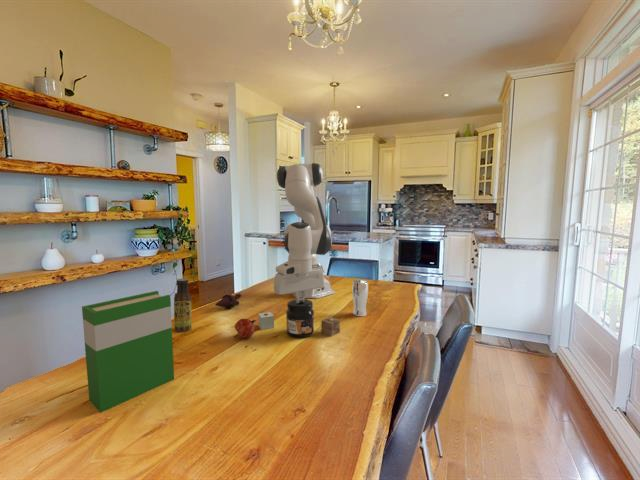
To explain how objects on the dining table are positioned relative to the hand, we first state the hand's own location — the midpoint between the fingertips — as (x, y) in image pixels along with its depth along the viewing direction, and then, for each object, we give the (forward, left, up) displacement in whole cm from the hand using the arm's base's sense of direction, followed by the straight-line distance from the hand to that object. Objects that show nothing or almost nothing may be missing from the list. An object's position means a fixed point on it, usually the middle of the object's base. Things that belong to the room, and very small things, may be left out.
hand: (299, 302), depth 118 cm
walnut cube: (-10, +6, -12) cm, 17 cm away
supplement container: (0, 0, -12) cm, 12 cm away
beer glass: (-33, -3, -12) cm, 35 cm away
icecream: (+13, -43, -12) cm, 46 cm away
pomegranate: (+19, -8, -12) cm, 24 cm away
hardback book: (+55, +7, -12) cm, 57 cm away
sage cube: (+8, -13, -12) cm, 19 cm away
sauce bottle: (+36, -28, -12) cm, 47 cm away
